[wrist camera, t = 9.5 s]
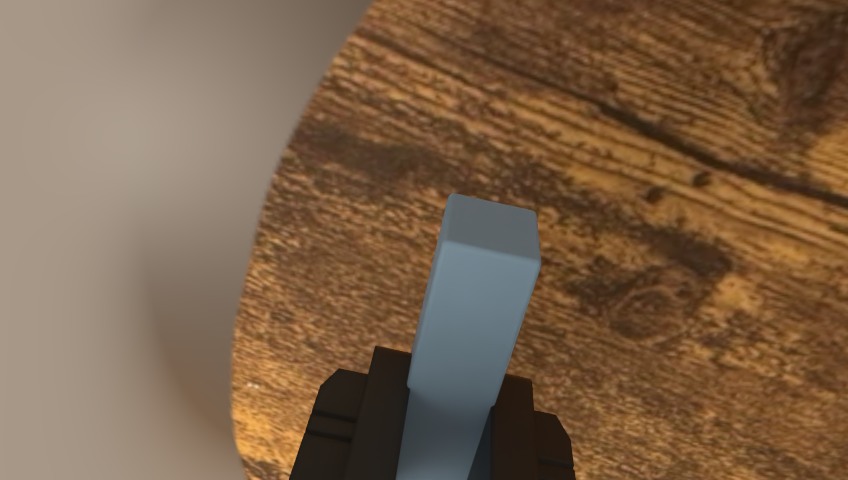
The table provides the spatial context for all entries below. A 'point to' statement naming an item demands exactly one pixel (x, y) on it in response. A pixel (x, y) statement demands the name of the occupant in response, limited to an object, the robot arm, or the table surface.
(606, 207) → the table surface
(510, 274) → the spoon
